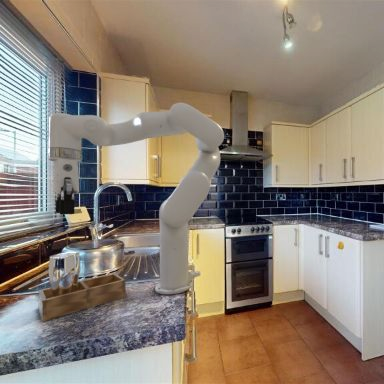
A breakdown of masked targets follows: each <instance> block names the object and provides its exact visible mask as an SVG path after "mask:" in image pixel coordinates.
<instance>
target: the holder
mask: <svg viewBox="0 0 384 384" xmlns="http://www.w3.org/2000/svg"><path fill="white" fill-rule="evenodd" d="M124 298H126V279H124V278H123V277H122V276H120V275H118V274H117V273H116V272H114V273H110V274H105V275H101V276H96V277H91V278H88V279H83V280H78V283H77V288H76V292H72V293H68V294H64V295H60V296H56V297H52V290H51V287H48V288H43V289H39V290H38V313H39V315H40V319H41V322H42V323H43V322H47V321H50V320H53V319H57V318H60V317H64V316H67V315H69V314H74V313H77V312H80V311H83V310H87V309H90V308H94V307H97V306H99V305H104V304H107V303H110V302H113V301H117V300H119V299H124Z"/></svg>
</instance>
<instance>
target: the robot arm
mask: <svg viewBox="0 0 384 384" xmlns="http://www.w3.org/2000/svg"><path fill="white" fill-rule="evenodd" d="M48 121H49V122H48V129H49V130H48V161H50V162H53V188H54V193H55V194H56V200H55V214H60V215H74V214H75V202H76V201H75V195H77V194H79V193H80V177H79V175H80V173H79V164H81V163H82V139H85V140H87V141H89V142H90V143H91V144H93V145H94V146H97V147H112V146H120V145H127V144H132V143H135V142H139V141H143V140H147V139H152V138H153V139H154V138H161V137H170V136H177V135H179V136H180V135H185V134H187V133H188V134H190V135H191V136H193V137H194V138H195V146H196V149H197V150H198V156H197V158H196V159H195V160H194V162H193V164H192V166H190V168H189V169H188V170H187V172H186V173H185V174H184V175H183V176H182V177H181V178H180V180H179V183H178V185H177V186H176V187H175V189H174V190H173V191H172V193H171V194H170V195H169V197H167V199H165V200H164V201H163V202H162V203H161V205H160V207H159V212H158V218H159V219H158V221H159V282H157V284H155V286H154V291H155V293H157V294H159V295H176V294H181V293H184V292H187V291H189V290H191V289H192V288H193V286H194V281H193V280H194V278H197V277H200V276H201V271H200V270H197V271H193V270H191V271H189V222H190V221H191V219H192V218H193V217H194V215H195V214H196V213H197V211H198V209H199V208H200V206H202V204H203V202H204V201H205V199H207V196H208V195H209V192H210V190H211V181H212V179H213V177H214V175H215V174H216V173H217V171H218V169H219V167H220V165H221V152H220V149H219V147H220V146H221V145H222V144H223V142H224V141H225V140H224V139H225V132H224V130H223V128H222V127H221V126H220V125H219V124H218V123H217V122H215V121H214V120H213V119H212V118H210V117H208V116H207V115H205V114H204V113H203V112H201V111H200V110H198V109H197V108H195V107H194V106H192V105H190V104H188V103H186V102H176V103H174V104H172V106H171V107H170V108H169V110H159V111H145V112H140V113H138V114H136V115H135V116H134V117H132V118H130V119H129V120H126V121H123V122H119V123H107V121H106V120H105V119H104V118H103V117H101V116H99V115H95V114H84V115H83V114H79V115H78V114H76V115H75V114H73V115H72V114H69V113H65V112H54V113H52V114H50V115H49V118H48Z"/></svg>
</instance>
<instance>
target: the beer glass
mask: <svg viewBox="0 0 384 384" xmlns="http://www.w3.org/2000/svg"><path fill="white" fill-rule="evenodd" d="M80 268H81V263H80V252H77V251H76V252H75V251H71V252H62V253H57V254H53V255H50V256H49V261H48V281H49V286H50V288H51V290H52V297H56V296H60V295H64V294H68V293H72V292H76V288H77V283H78V281H79V277H80V271H81V270H80Z"/></svg>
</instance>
